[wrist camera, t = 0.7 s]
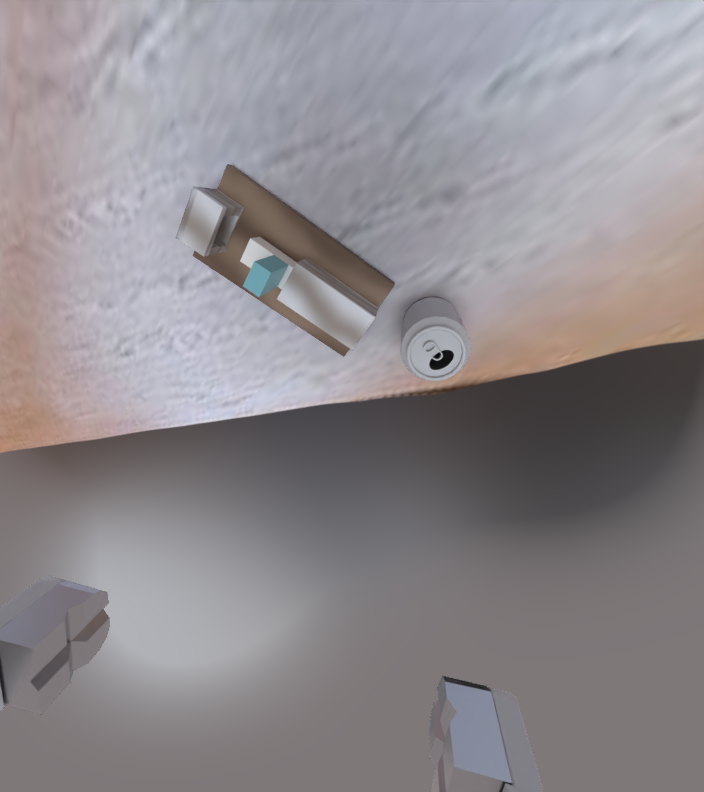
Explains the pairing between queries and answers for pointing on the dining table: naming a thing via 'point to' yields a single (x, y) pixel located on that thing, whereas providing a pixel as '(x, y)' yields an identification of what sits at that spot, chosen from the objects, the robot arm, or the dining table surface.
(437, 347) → the can
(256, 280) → the white and teal block
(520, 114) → the dining table surface
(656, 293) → the dining table surface
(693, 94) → the dining table surface
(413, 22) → the dining table surface
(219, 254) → the brown board
